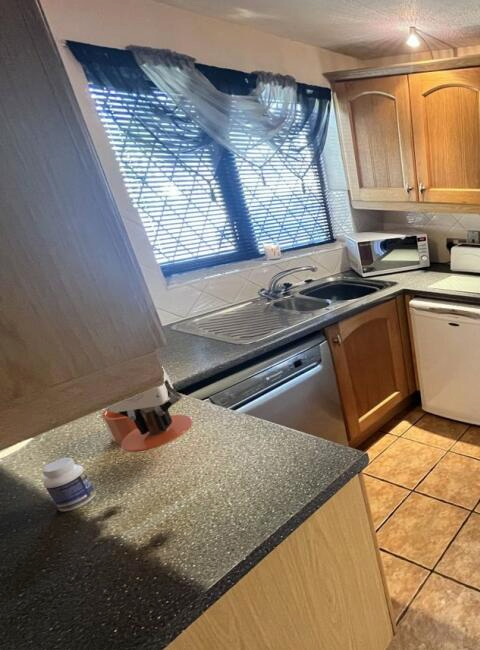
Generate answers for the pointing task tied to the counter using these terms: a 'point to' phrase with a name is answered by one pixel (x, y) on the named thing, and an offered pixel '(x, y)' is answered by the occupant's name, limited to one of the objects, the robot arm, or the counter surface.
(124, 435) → the pot
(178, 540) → the counter surface
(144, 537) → the counter surface
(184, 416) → the lid
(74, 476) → the pill bottle
